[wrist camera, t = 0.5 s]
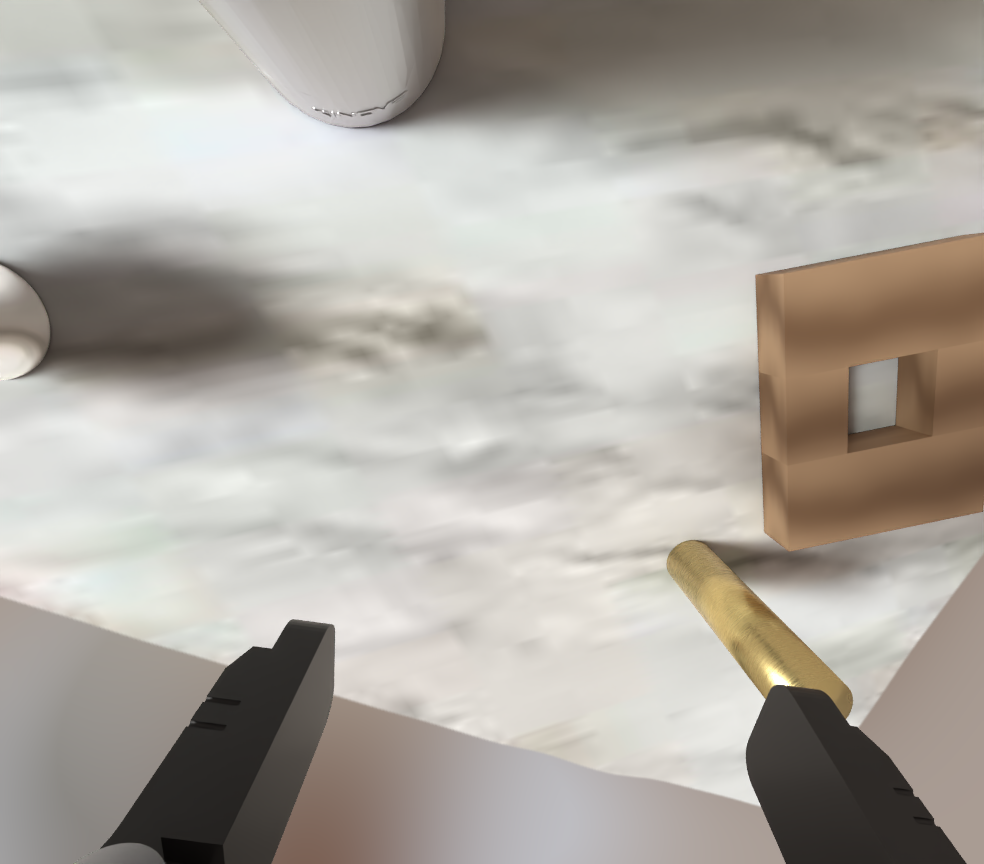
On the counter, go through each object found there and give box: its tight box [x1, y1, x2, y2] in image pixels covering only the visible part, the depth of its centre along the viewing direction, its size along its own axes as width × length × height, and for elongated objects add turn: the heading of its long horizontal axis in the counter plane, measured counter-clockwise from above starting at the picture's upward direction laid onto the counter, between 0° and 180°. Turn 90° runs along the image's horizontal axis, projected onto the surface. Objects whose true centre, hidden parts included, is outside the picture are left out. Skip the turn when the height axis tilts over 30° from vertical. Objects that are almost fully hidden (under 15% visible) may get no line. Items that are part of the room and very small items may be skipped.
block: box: [756, 233, 984, 552], centre depth 29 cm, size 16×12×2 cm
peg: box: [667, 540, 853, 719], centre depth 27 cm, size 3×3×12 cm
